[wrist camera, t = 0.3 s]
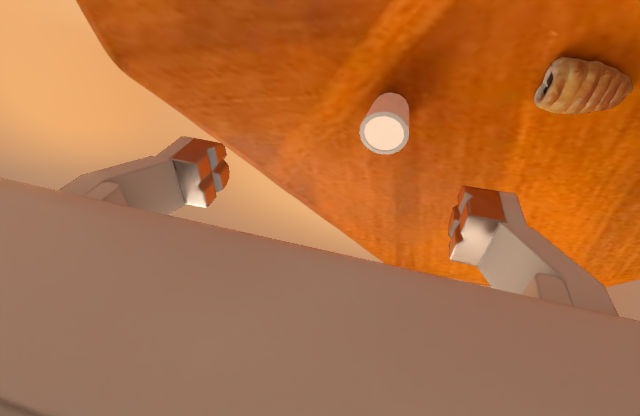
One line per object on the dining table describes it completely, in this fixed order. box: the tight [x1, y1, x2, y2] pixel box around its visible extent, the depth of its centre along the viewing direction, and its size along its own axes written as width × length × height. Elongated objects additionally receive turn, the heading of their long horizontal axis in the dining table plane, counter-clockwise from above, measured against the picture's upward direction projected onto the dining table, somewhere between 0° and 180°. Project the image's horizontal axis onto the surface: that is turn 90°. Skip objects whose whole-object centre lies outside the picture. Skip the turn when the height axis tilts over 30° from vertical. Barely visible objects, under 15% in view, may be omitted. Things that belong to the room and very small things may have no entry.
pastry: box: [534, 57, 633, 114], centre depth 40 cm, size 9×7×4 cm
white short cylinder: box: [359, 93, 409, 154], centre depth 48 cm, size 7×7×7 cm
